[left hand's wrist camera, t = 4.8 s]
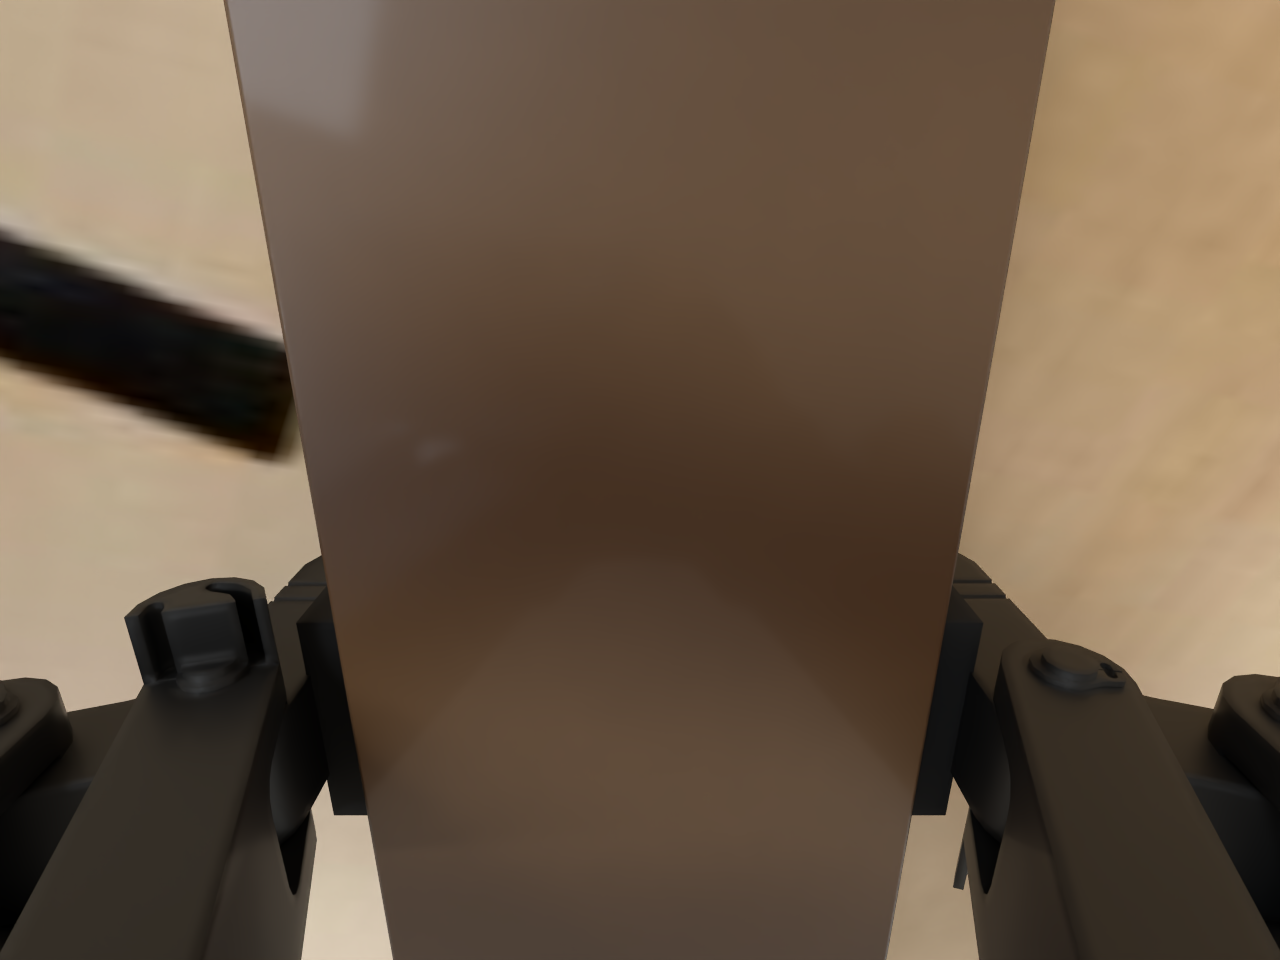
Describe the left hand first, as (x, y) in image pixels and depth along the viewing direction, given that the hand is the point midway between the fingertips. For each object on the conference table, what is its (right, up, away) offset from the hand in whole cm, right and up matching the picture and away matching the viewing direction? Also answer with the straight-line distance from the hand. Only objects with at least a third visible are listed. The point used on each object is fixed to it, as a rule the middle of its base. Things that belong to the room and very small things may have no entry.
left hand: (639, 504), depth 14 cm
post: (0, +20, -7) cm, 21 cm away
